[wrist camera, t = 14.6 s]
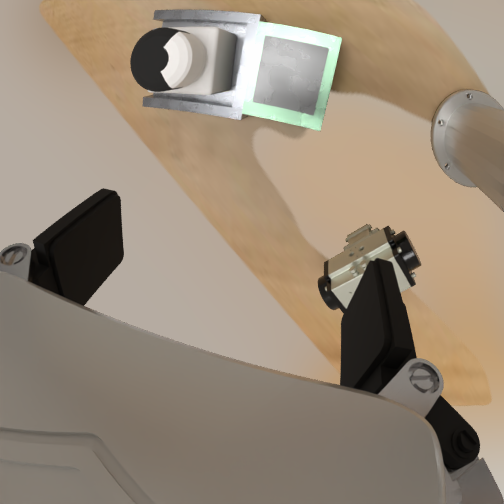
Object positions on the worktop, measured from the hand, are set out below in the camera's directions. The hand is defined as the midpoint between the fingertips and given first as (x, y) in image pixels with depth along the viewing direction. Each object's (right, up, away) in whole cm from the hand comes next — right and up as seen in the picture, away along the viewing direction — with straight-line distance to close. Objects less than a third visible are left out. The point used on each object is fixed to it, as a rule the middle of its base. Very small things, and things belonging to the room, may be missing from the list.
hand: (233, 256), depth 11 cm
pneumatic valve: (+15, +2, +29) cm, 33 cm away
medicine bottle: (-5, +22, +20) cm, 31 cm away
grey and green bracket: (-1, +22, +20) cm, 30 cm away
